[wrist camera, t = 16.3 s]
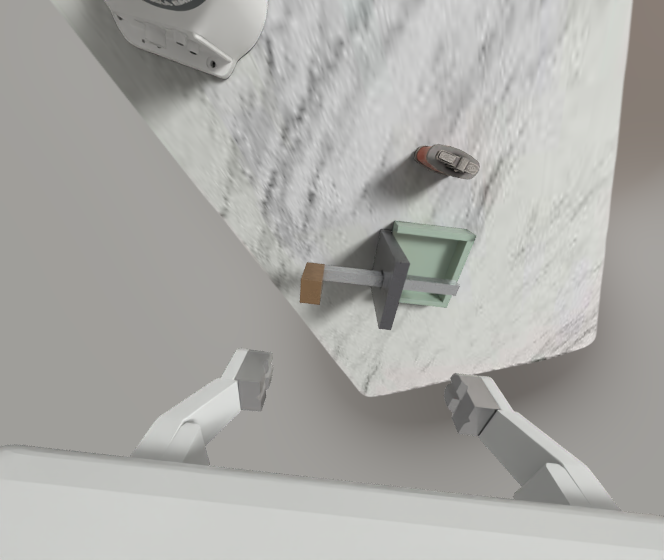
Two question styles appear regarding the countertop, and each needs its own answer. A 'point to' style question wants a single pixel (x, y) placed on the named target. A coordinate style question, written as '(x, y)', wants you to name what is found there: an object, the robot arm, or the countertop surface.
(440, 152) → the lighter
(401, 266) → the bearing plate
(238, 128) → the countertop surface
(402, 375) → the countertop surface
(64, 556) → the robot arm
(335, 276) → the shaft
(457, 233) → the tray
